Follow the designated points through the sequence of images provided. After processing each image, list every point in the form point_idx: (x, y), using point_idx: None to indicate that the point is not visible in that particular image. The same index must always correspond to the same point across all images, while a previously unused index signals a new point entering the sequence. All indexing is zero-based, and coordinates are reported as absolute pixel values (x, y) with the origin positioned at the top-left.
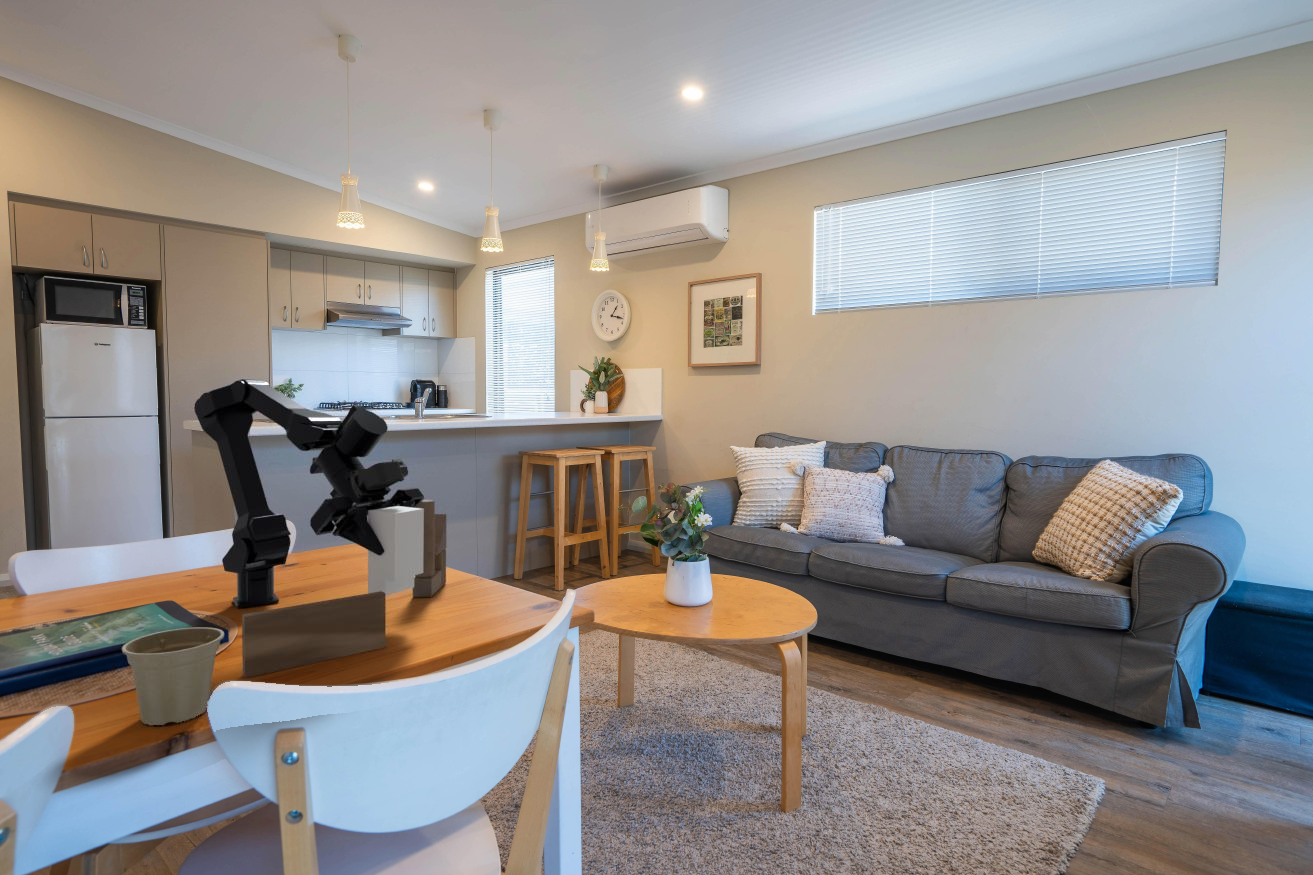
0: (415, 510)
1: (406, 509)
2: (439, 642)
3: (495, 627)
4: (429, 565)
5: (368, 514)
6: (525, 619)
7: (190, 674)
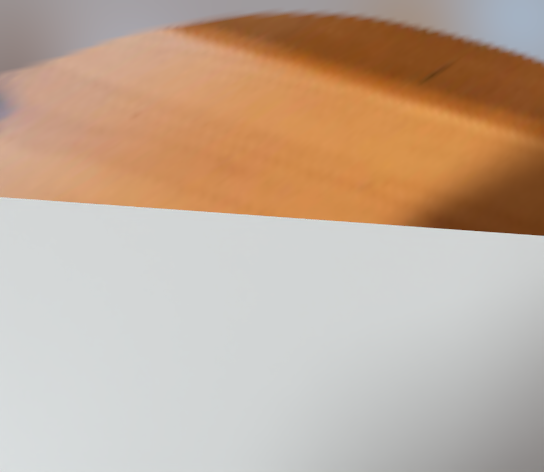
0: (194, 211)
1: (190, 445)
2: (356, 171)
3: (193, 112)
4: None
5: None
6: (106, 80)
7: None
